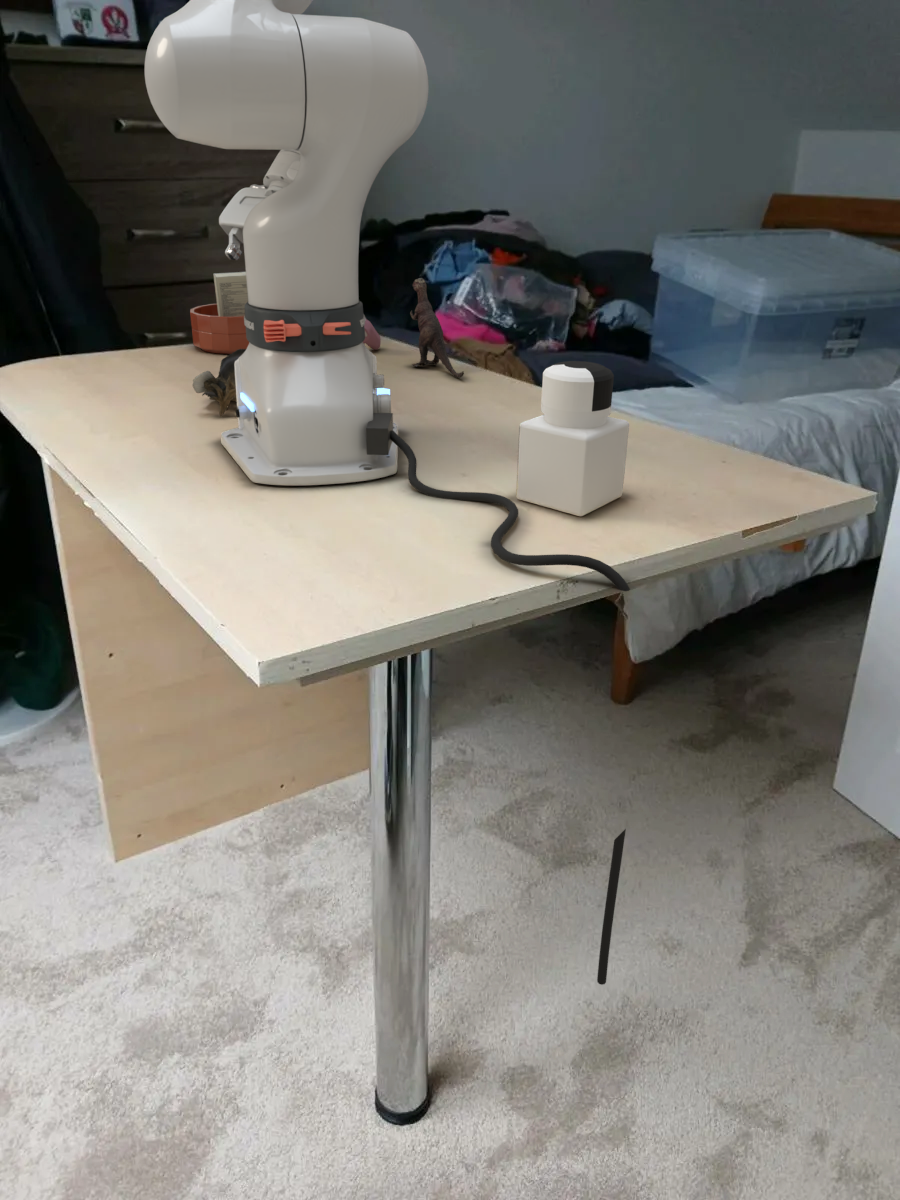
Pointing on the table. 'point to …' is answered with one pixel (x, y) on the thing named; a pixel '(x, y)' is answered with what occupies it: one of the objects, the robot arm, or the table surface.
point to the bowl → (217, 330)
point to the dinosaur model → (430, 331)
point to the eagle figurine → (220, 382)
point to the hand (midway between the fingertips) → (251, 259)
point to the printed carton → (231, 293)
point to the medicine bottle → (573, 442)
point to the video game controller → (371, 336)
